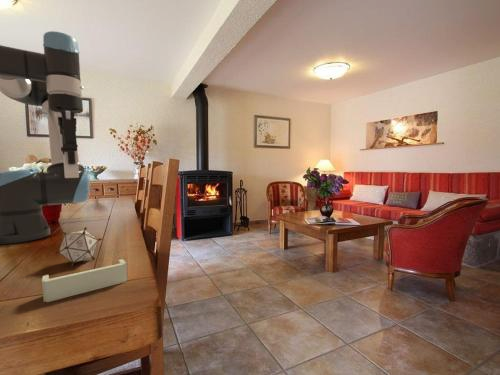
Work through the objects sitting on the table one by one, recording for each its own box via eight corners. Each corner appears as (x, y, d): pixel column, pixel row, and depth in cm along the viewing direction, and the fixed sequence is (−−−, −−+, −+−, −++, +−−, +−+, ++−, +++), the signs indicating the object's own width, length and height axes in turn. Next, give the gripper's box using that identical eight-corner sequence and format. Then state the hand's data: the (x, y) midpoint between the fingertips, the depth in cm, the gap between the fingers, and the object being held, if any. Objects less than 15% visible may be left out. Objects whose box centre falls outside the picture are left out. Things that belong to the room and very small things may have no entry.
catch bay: (44, 295, 45) (42, 275, 45) (123, 275, 53) (122, 259, 53) (43, 303, 43) (41, 282, 42) (127, 281, 50) (126, 263, 50)
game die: (83, 274, 65) (95, 236, 70) (100, 267, 60) (112, 227, 66) (42, 265, 59) (59, 225, 64) (57, 258, 54) (74, 215, 60)
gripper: (86, 86, 62) (92, 177, 63) (78, 107, 81) (84, 176, 82) (46, 80, 57) (53, 178, 59) (48, 104, 76) (54, 177, 78)
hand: (71, 177), depth 71 cm, fingers open, 12 cm apart
